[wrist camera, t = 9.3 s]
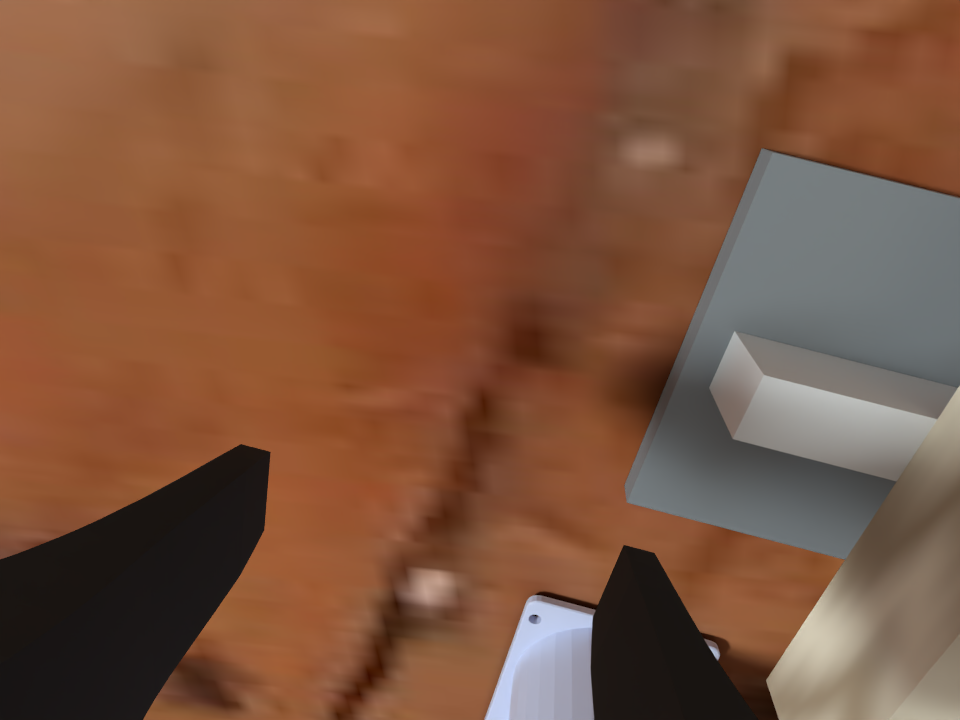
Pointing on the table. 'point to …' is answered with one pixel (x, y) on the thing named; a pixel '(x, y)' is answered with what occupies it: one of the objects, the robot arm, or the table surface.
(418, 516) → the table surface
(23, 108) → the table surface
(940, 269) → the grey stepped base
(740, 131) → the table surface
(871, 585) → the birch beam
